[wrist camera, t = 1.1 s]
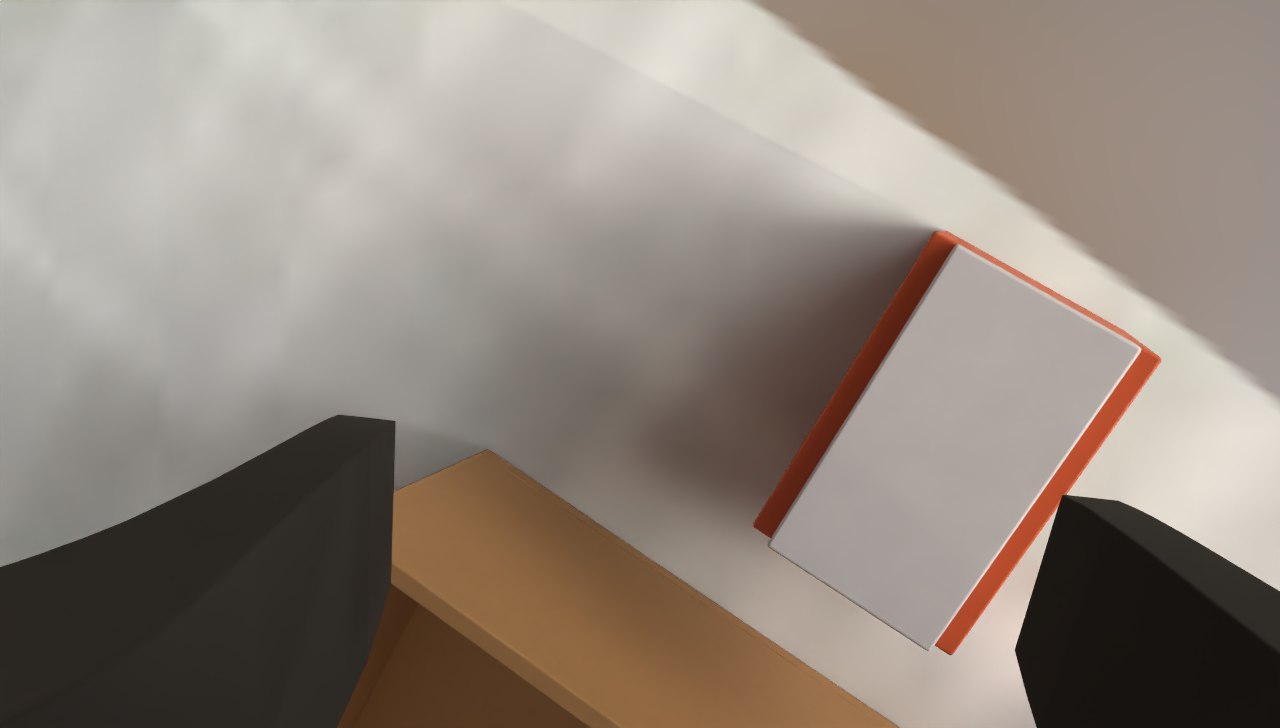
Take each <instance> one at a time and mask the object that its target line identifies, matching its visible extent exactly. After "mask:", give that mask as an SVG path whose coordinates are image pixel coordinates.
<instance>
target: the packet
mask: <svg viewBox="0 0 1280 728" xmlns="http://www.w3.org/2000/svg"><path fill="white" fill-rule="evenodd" d="M1160 362H1161V358H1160V357H1159V356H1158V355H1156V354H1155V353H1154V352H1152V351H1151V350H1149V349H1148V348H1147V347H1145V346H1144V345H1143V344H1141V343H1140V342H1139V341H1137V340H1136V339H1135V338H1133V337H1132V336H1131V335H1129V334H1128V333H1126V332H1125V331H1124V330H1122V329H1120V328H1118V327H1117V326H1115V325H1113V324H1111V323H1109V322H1108V321H1106V320H1104V319H1102V318H1101V317H1099V316H1097V315H1095V314H1093V313H1092V312H1090V311H1088V310H1086V309H1085V308H1083V307H1081V306H1079V305H1077V304H1076V303H1074V302H1072V301H1070V300H1069V299H1067V298H1065V297H1063V296H1061V295H1060V294H1058V293H1056V292H1054V291H1053V290H1051V289H1049V288H1047V287H1045V286H1044V285H1042V284H1040V283H1038V282H1037V281H1035V280H1033V279H1031V278H1029V277H1028V276H1026V275H1024V274H1022V273H1021V272H1019V271H1017V270H1015V269H1013V268H1012V267H1010V266H1008V265H1006V264H1005V263H1003V262H1001V261H999V260H997V259H996V258H994V257H992V256H990V255H989V254H987V253H985V252H983V251H981V250H980V249H978V248H976V247H974V246H973V245H971V244H969V243H967V242H965V241H964V240H962V239H960V238H958V237H957V236H955V235H953V234H951V233H949V232H948V231H938V232H934V233H933V235H932V236H931V238H930V240H929V241H928V243H927V244H926V246H925V248H924V249H923V251H922V253H921V254H920V256H919V257H918V259H917V261H916V262H915V264H914V265H913V267H912V269H911V270H910V272H909V274H908V275H907V277H906V278H905V280H904V282H903V283H902V285H901V286H900V288H899V290H898V291H897V293H896V294H895V296H894V298H893V299H892V301H891V303H890V304H889V306H888V307H887V309H886V311H885V312H884V314H883V315H882V317H881V319H880V320H879V322H878V324H877V325H876V327H875V328H874V330H873V332H872V333H871V335H870V336H869V338H868V340H867V341H866V343H865V344H864V346H863V348H862V349H861V351H860V353H859V354H858V356H857V357H856V359H855V361H854V362H853V364H852V365H851V367H850V369H849V370H848V372H847V374H846V375H845V377H844V378H843V380H842V382H841V383H840V385H839V386H838V388H837V390H836V391H835V393H834V394H833V396H832V398H831V399H830V401H829V403H828V404H827V406H826V407H825V409H824V411H823V412H822V414H821V415H820V417H819V419H818V420H817V422H816V423H815V425H814V427H813V428H812V430H811V432H810V433H809V435H808V436H807V438H806V440H805V441H804V443H803V444H802V446H801V448H800V449H799V451H798V453H797V454H796V456H795V457H794V459H793V461H792V462H791V464H790V465H789V467H788V469H787V470H786V472H785V473H784V475H783V477H782V478H781V480H780V482H779V483H778V485H777V486H776V488H775V490H774V491H773V493H772V494H771V496H770V498H769V499H768V501H767V503H766V504H765V506H764V507H763V509H762V511H761V512H760V514H759V515H758V517H757V519H756V520H755V522H754V523H753V526H754V528H756V529H757V530H759V531H760V532H762V533H764V534H765V535H767V536H768V537H770V538H771V539H770V541H769V542H768V546H769V548H771V549H772V550H774V551H775V552H777V553H779V554H780V555H782V556H783V557H785V558H786V559H788V560H789V561H791V562H792V563H794V564H795V565H797V566H798V567H800V568H801V569H803V570H804V571H806V572H808V573H809V574H811V575H812V576H814V577H815V578H817V579H818V580H820V581H821V582H823V583H824V584H826V585H827V586H829V587H830V588H832V589H833V590H835V591H836V592H838V593H840V594H841V595H843V596H844V597H846V598H847V599H849V600H850V601H852V602H853V603H855V604H856V605H858V606H859V607H861V608H862V609H864V610H865V611H867V612H869V613H870V614H872V615H873V616H875V617H876V618H878V619H879V620H881V621H882V622H884V623H885V624H887V625H888V626H890V627H891V628H893V629H894V630H896V631H897V632H899V633H901V634H902V635H904V636H905V637H907V638H908V639H910V640H911V641H913V642H914V643H916V644H917V645H919V646H920V647H922V648H923V649H925V650H927V651H930V650H932V648H933V647H934V645H935V646H936V647H938V648H940V649H941V650H943V651H944V652H946V653H947V654H949V655H952V654H953V653H954V652H955V651H956V649H957V648H958V646H959V645H960V643H961V642H962V641H963V639H964V638H965V636H966V635H967V634H968V632H969V631H970V629H971V628H972V627H973V625H974V624H975V622H976V621H977V620H978V618H979V617H980V615H981V614H982V613H983V611H984V610H985V608H986V607H987V605H988V604H989V603H990V601H991V600H992V598H993V597H994V596H995V594H996V593H997V591H998V590H999V589H1000V587H1001V586H1002V584H1003V583H1004V582H1005V580H1006V579H1007V577H1008V576H1009V575H1010V573H1011V572H1012V570H1013V569H1014V568H1015V566H1016V565H1017V563H1018V562H1019V560H1020V559H1021V558H1022V556H1023V555H1024V553H1025V552H1026V551H1027V549H1028V548H1029V546H1030V545H1031V544H1032V542H1033V541H1034V539H1035V538H1036V537H1037V535H1038V534H1039V532H1040V531H1041V530H1042V528H1043V527H1044V525H1045V524H1046V522H1047V521H1048V520H1049V518H1050V517H1051V515H1052V514H1053V513H1054V511H1055V510H1056V508H1057V507H1058V506H1059V503H1060V500H1061V497H1062V495H1066V494H1067V493H1068V492H1069V490H1070V489H1071V487H1072V486H1073V485H1074V483H1075V482H1076V480H1077V479H1078V477H1079V476H1080V475H1081V473H1082V472H1083V470H1084V469H1085V468H1086V466H1087V465H1088V463H1089V462H1090V461H1091V459H1092V458H1093V456H1094V455H1095V454H1096V452H1097V451H1098V449H1099V448H1100V447H1101V445H1102V444H1103V442H1104V441H1105V439H1106V438H1107V437H1108V435H1109V434H1110V432H1111V431H1112V430H1113V428H1114V427H1115V425H1116V424H1117V423H1118V421H1119V420H1120V418H1121V417H1122V416H1123V414H1124V413H1125V411H1126V410H1127V409H1128V407H1129V406H1130V404H1131V403H1132V401H1133V400H1134V399H1135V397H1136V396H1137V394H1138V393H1139V392H1140V390H1141V389H1142V387H1143V386H1144V385H1145V383H1146V382H1147V380H1148V379H1149V378H1150V376H1151V375H1152V373H1153V372H1154V371H1155V369H1156V368H1157V366H1158V365H1159V364H1160Z"/></svg>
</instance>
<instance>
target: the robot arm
mask: <svg viewBox="0 0 1280 728" xmlns="http://www.w3.org/2000/svg"><path fill="white" fill-rule="evenodd" d="M394 457H395V421H391V420H382V419H373V418H364V417H355V416H346V415H336V416H334V417H331V418H329V419H327V420H325V421H322V422H320V423H318V424H316V425H314V426H313V427H311V428H309V429H307V430H305V431H303V432H301V433H299V434H297V435H296V436H294V437H292V438H290V439H288V440H286V441H285V442H283V443H281V444H279V445H277V446H276V447H274V448H272V449H270V450H268V451H266V452H264V453H263V454H261V455H259V456H257V457H255V458H253V459H251V460H250V461H248V462H246V463H244V464H242V465H240V466H238V467H236V468H235V469H233V470H231V471H229V472H227V473H225V474H223V475H221V476H220V477H218V478H216V479H214V480H212V481H210V482H208V483H206V484H203V485H201V486H199V487H197V488H195V489H193V490H191V491H189V492H187V493H184V494H182V495H180V496H178V497H176V498H174V499H172V500H170V501H168V502H165V503H163V504H161V505H159V506H157V507H155V508H153V509H151V510H149V511H147V512H144V513H142V514H140V515H138V516H136V517H134V518H131V519H129V520H127V521H124V522H122V523H120V524H117V525H115V526H113V527H110V528H108V529H105V530H103V531H100V532H98V533H95V534H93V535H90V536H88V537H85V538H83V539H80V540H77V541H74V542H72V543H69V544H66V545H63V546H61V547H58V548H55V549H52V550H50V551H47V552H44V553H41V554H39V555H36V556H33V557H30V558H27V559H24V560H21V561H18V562H15V563H12V564H9V565H5V566H2V567H0V728H337V726H338V724H339V722H340V720H341V718H342V716H343V713H344V711H345V709H346V707H347V705H348V703H349V700H350V698H351V696H352V694H353V692H354V690H355V687H356V685H357V683H358V681H359V679H360V676H361V674H362V672H363V670H364V667H365V665H366V663H367V660H368V657H369V654H370V651H371V648H372V645H373V642H374V638H375V635H376V632H377V629H378V626H379V622H380V619H381V616H382V612H383V609H384V606H385V602H386V599H387V595H388V592H389V589H390V585H391V567H392V530H393V494H394ZM1015 652H1016V656H1017V660H1018V664H1019V667H1020V671H1021V675H1022V679H1023V683H1024V686H1025V690H1026V694H1027V697H1028V701H1029V704H1030V707H1031V710H1032V714H1033V717H1034V720H1035V723H1036V727H1037V728H1280V591H1278V590H1276V589H1275V588H1273V587H1271V586H1270V585H1268V584H1266V583H1265V582H1263V581H1261V580H1260V579H1258V578H1256V577H1255V576H1253V575H1251V574H1250V573H1248V572H1246V571H1245V570H1243V569H1241V568H1240V567H1238V566H1236V565H1235V564H1233V563H1231V562H1230V561H1228V560H1226V559H1225V558H1223V557H1221V556H1220V555H1218V554H1216V553H1215V552H1213V551H1211V550H1210V549H1208V548H1206V547H1205V546H1203V545H1201V544H1200V543H1198V542H1196V541H1194V540H1193V539H1191V538H1189V537H1188V536H1186V535H1184V534H1183V533H1181V532H1179V531H1177V530H1175V529H1174V528H1172V527H1170V526H1168V525H1167V524H1165V523H1163V522H1161V521H1159V520H1158V519H1156V518H1154V517H1152V516H1150V515H1148V514H1146V513H1144V512H1142V511H1140V510H1138V509H1136V508H1134V507H1131V506H1129V505H1127V504H1124V503H1122V502H1120V501H1115V500H1106V499H1097V498H1088V497H1079V496H1069V495H1062V497H1061V500H1060V503H1059V507H1058V510H1057V513H1056V516H1055V520H1054V523H1053V526H1052V530H1051V533H1050V536H1049V539H1048V543H1047V546H1046V549H1045V553H1044V556H1043V559H1042V563H1041V566H1040V569H1039V572H1038V576H1037V579H1036V582H1035V586H1034V589H1033V592H1032V595H1031V599H1030V602H1029V605H1028V609H1027V612H1026V615H1025V619H1024V622H1023V625H1022V628H1021V632H1020V635H1019V638H1018V642H1017V645H1016V648H1015Z"/></svg>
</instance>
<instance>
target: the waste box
mask: <svg viewBox="0 0 1280 728" xmlns="http://www.w3.org/2000/svg"><path fill="white" fill-rule="evenodd" d="M337 728H899V727H898V726H896V725H895V724H893V723H892V722H890V721H889V720H887V719H886V718H885V717H883V716H882V715H880V714H879V713H877V712H876V711H874V710H873V709H871V708H870V707H868V706H867V705H865V704H864V703H862V702H861V701H859V700H858V699H856V698H855V697H853V696H852V695H851V694H849V693H848V692H846V691H845V690H843V689H842V688H840V687H839V686H837V685H836V684H834V683H833V682H831V681H830V680H828V679H827V678H825V677H824V676H822V675H821V674H819V673H818V672H817V671H815V670H814V669H812V668H811V667H809V666H808V665H806V664H805V663H803V662H802V661H800V660H799V659H797V658H796V657H794V656H793V655H791V654H790V653H788V652H787V651H785V650H784V649H783V648H781V647H780V646H778V645H777V644H775V643H774V642H772V641H771V640H769V639H768V638H766V637H765V636H763V635H762V634H760V633H759V632H757V631H756V630H754V629H753V628H751V627H750V626H749V625H747V624H746V623H744V622H743V621H741V620H740V619H738V618H737V617H735V616H734V615H732V614H731V613H729V612H728V611H726V610H725V609H723V608H722V607H720V606H719V605H717V604H716V603H714V602H713V601H712V600H710V599H709V598H707V597H706V596H704V595H703V594H701V593H700V592H698V591H697V590H695V589H694V588H692V587H691V586H689V585H688V584H686V583H685V582H683V581H682V580H680V579H679V578H678V577H676V576H675V575H673V574H672V573H670V572H669V571H667V570H666V569H664V568H663V567H661V566H660V565H658V564H657V563H655V562H654V561H652V560H651V559H649V558H648V557H646V556H645V555H644V554H642V553H641V552H639V551H638V550H636V549H635V548H633V547H632V546H630V545H629V544H627V543H626V542H624V541H623V540H621V539H620V538H618V537H617V536H615V535H614V534H612V533H611V532H610V531H608V530H607V529H605V528H604V527H602V526H601V525H599V524H598V523H596V522H595V521H593V520H592V519H590V518H589V517H587V516H586V515H584V514H583V513H581V512H580V511H578V510H577V509H576V508H574V507H573V506H571V505H570V504H568V503H567V502H565V501H564V500H562V499H561V498H559V497H558V496H556V495H555V494H553V493H552V492H550V491H549V490H547V489H546V488H544V487H543V486H542V485H540V484H539V483H537V482H536V481H534V480H533V479H531V478H530V477H528V476H527V475H525V474H524V473H522V472H521V471H519V470H518V469H516V468H515V467H513V466H512V465H510V464H509V463H508V462H506V461H505V460H503V459H502V458H500V457H499V456H497V455H496V454H494V453H493V452H491V451H490V450H485V451H483V452H481V453H479V454H476V455H474V456H472V457H470V458H468V459H465V460H463V461H461V462H459V463H456V464H454V465H452V466H450V467H448V468H445V469H443V470H441V471H439V472H436V473H434V474H432V475H430V476H428V477H425V478H423V479H421V480H419V481H416V482H414V483H412V484H410V485H408V486H405V487H403V488H401V489H399V490H396V491H394V494H393V530H392V567H391V585H390V589H389V592H388V595H387V599H386V602H385V606H384V609H383V612H382V616H381V619H380V622H379V626H378V629H377V632H376V635H375V638H374V642H373V645H372V648H371V651H370V654H369V657H368V660H367V663H366V665H365V667H364V670H363V672H362V674H361V676H360V679H359V681H358V683H357V685H356V687H355V690H354V692H353V694H352V696H351V698H350V700H349V703H348V705H347V707H346V709H345V711H344V713H343V716H342V718H341V720H340V722H339V724H338V726H337Z"/></svg>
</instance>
